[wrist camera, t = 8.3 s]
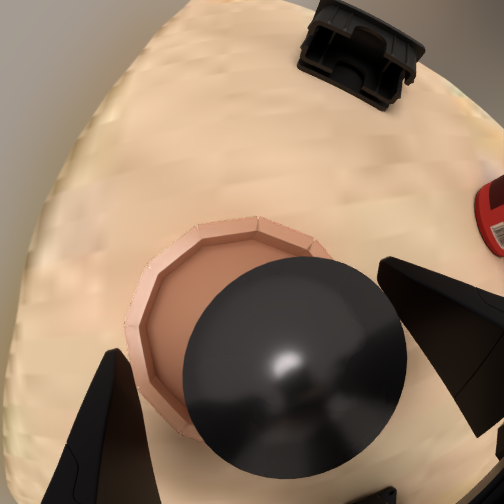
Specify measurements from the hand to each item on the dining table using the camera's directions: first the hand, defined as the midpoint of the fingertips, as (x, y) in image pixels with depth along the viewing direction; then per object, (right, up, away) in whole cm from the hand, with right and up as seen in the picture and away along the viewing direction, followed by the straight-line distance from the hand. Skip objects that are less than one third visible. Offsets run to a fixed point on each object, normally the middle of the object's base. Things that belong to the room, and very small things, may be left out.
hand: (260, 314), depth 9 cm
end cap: (+9, +19, +15) cm, 26 cm away
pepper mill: (-1, -3, +8) cm, 8 cm away
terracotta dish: (-1, -3, +8) cm, 9 cm away
